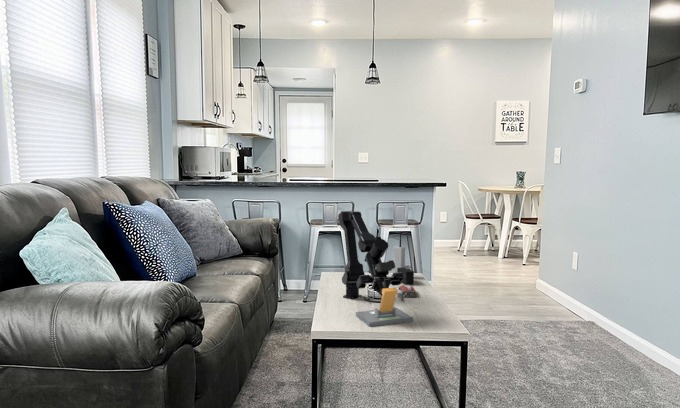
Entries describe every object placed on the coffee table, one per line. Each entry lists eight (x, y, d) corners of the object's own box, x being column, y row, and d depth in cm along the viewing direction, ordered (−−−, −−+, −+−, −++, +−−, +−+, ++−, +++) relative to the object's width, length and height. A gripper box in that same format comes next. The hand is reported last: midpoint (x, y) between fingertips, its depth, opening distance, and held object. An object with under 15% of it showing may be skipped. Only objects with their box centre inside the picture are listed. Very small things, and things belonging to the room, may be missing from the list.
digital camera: (415, 284, 225) (416, 271, 225) (406, 285, 224) (406, 271, 223) (406, 280, 235) (406, 266, 235) (397, 280, 233) (397, 267, 233)
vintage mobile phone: (396, 276, 243) (397, 230, 241) (404, 277, 240) (405, 231, 238) (393, 277, 240) (393, 231, 238) (400, 279, 237) (401, 232, 235)
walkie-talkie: (394, 290, 214) (399, 302, 194) (394, 281, 214) (399, 292, 194) (412, 291, 214) (419, 303, 194) (412, 282, 214) (419, 293, 194)
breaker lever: (377, 313, 171) (382, 288, 166) (390, 311, 173) (395, 287, 168) (379, 316, 169) (384, 291, 165) (392, 315, 171) (397, 290, 166)
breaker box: (355, 315, 175) (355, 304, 175) (396, 311, 181) (396, 300, 181) (369, 326, 163) (369, 314, 162) (412, 321, 169) (412, 309, 169)
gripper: (359, 254, 169) (371, 290, 160) (403, 252, 176) (416, 286, 166) (351, 270, 177) (362, 305, 168) (393, 267, 184) (406, 301, 174)
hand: (387, 299), depth 169 cm, fingers closed, pressing on breaker lever
